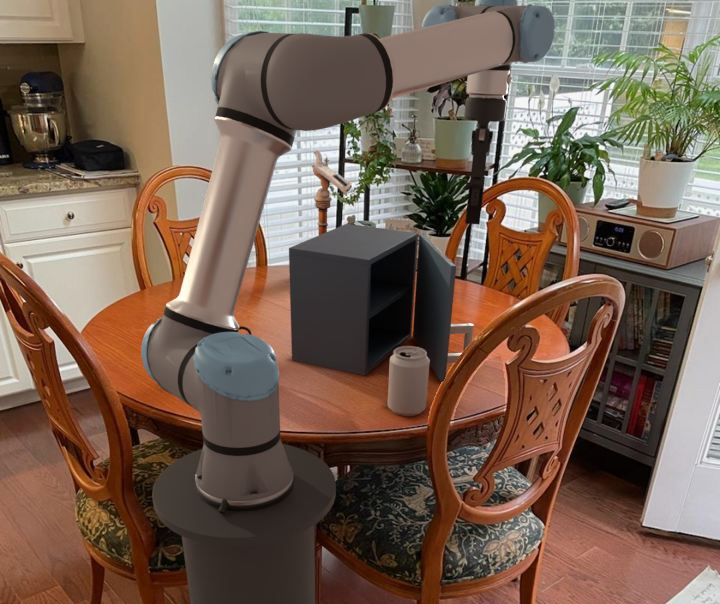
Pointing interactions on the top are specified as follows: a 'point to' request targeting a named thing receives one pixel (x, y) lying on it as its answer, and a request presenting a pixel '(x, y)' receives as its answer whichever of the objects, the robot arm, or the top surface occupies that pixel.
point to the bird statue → (326, 189)
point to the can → (408, 380)
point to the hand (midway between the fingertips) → (473, 216)
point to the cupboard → (352, 296)
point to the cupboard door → (436, 307)
